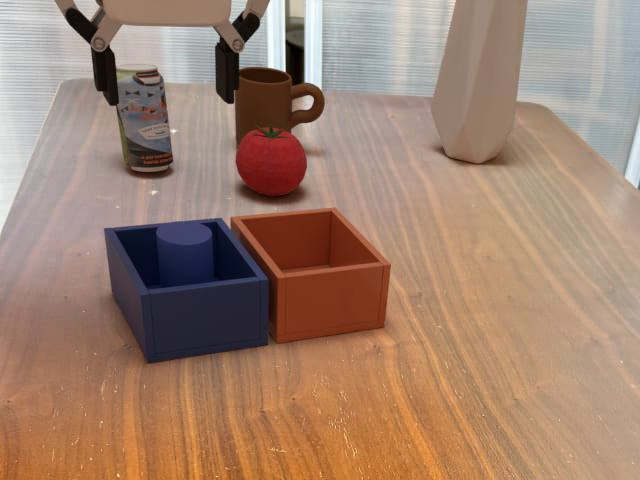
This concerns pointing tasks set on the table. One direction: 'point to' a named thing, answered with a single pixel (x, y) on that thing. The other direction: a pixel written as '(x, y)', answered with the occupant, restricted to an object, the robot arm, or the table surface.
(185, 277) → the blue cylinder
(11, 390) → the table surface
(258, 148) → the tomato
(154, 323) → the blue bin
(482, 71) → the vase
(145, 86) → the beverage can
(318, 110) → the mug
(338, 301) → the terracotta bin
